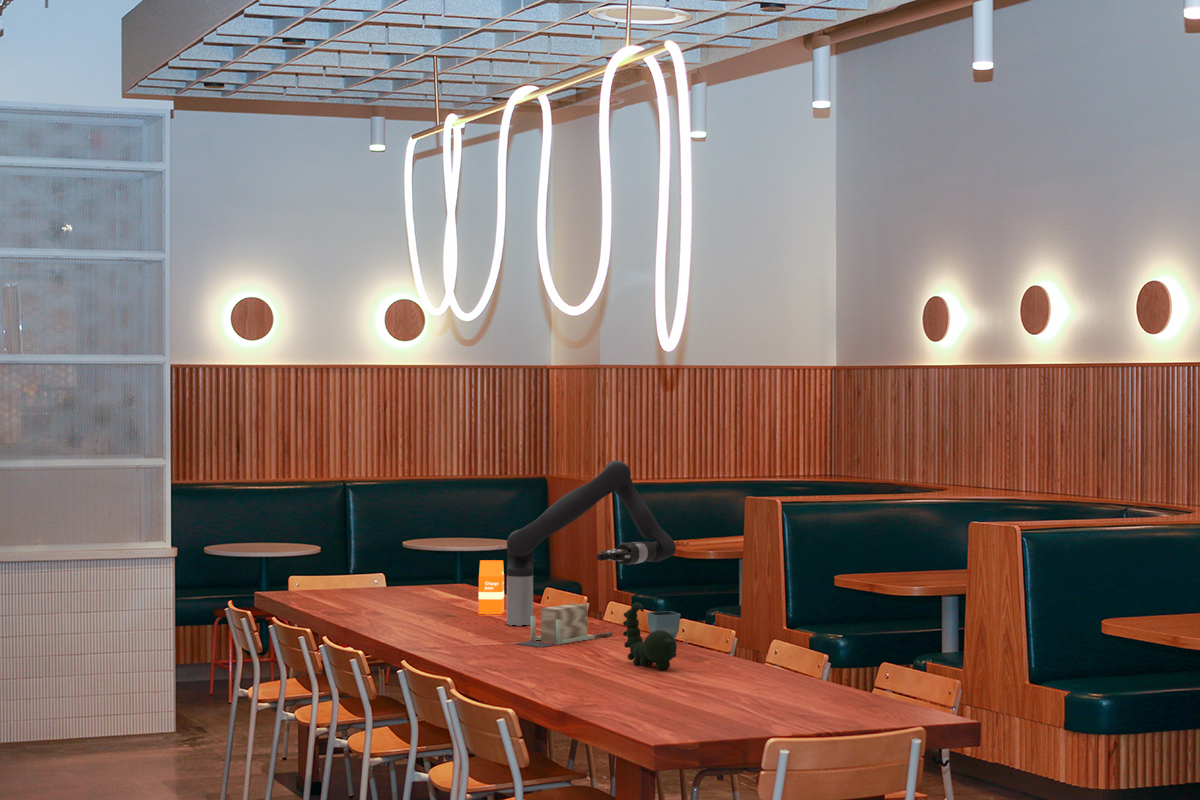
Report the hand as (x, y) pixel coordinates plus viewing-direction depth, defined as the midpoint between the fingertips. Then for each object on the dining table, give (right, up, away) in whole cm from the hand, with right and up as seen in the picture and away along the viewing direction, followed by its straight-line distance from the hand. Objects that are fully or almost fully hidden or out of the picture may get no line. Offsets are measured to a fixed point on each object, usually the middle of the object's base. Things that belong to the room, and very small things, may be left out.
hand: (598, 557), depth 461 cm
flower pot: (+21, -26, -15) cm, 36 cm away
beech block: (-11, -26, -15) cm, 31 cm away
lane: (-3, -26, -5) cm, 26 cm away
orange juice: (-40, -27, +49) cm, 69 cm away
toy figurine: (+15, -25, -65) cm, 71 cm away
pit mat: (-20, -25, -25) cm, 40 cm away
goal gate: (-12, -25, -15) cm, 32 cm away
